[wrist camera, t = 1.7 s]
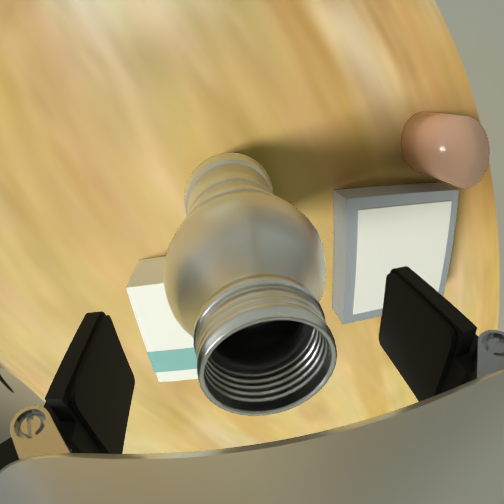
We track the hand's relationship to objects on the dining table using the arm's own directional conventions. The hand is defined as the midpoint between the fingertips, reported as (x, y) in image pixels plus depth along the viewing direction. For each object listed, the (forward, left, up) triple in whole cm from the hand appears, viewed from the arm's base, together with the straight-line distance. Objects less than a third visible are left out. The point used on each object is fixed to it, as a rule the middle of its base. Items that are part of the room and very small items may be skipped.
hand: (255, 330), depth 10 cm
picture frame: (+6, +15, -18) cm, 24 cm away
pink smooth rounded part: (-4, +19, -18) cm, 26 cm away
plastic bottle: (-1, 0, -18) cm, 18 cm away
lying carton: (+9, -6, -18) cm, 21 cm away
